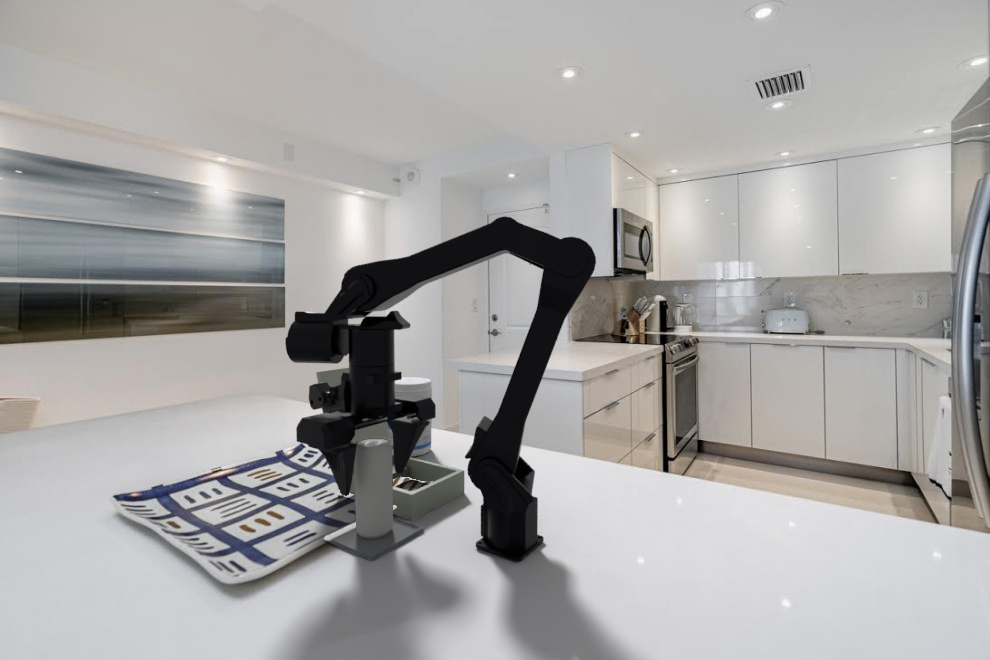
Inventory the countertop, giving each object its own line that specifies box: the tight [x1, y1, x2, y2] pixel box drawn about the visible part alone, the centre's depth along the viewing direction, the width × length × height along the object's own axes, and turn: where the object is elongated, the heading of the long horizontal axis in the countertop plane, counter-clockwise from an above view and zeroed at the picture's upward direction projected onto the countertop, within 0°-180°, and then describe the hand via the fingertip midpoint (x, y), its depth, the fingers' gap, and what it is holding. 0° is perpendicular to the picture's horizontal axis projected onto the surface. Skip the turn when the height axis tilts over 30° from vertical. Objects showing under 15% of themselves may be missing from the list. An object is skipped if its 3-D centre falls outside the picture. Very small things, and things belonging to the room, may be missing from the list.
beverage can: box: [354, 437, 394, 539], centre depth 64 cm, size 5×5×12 cm
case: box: [337, 453, 465, 521], centre depth 78 cm, size 16×12×4 cm
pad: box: [328, 516, 424, 562], centre depth 64 cm, size 9×9×1 cm
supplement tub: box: [387, 376, 433, 458], centre depth 100 cm, size 10×10×15 cm
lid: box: [316, 367, 391, 444], centre depth 83 cm, size 16×12×1 cm
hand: (373, 483), depth 64 cm, fingers open, 9 cm apart
